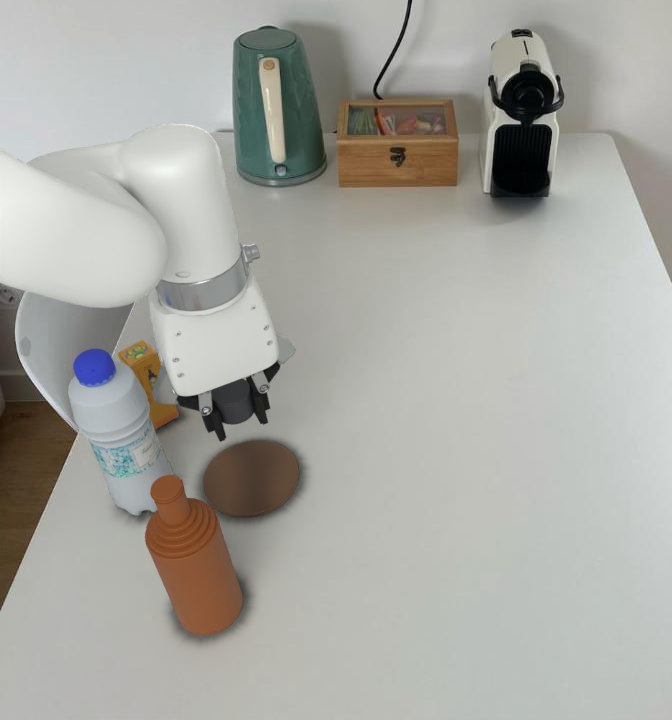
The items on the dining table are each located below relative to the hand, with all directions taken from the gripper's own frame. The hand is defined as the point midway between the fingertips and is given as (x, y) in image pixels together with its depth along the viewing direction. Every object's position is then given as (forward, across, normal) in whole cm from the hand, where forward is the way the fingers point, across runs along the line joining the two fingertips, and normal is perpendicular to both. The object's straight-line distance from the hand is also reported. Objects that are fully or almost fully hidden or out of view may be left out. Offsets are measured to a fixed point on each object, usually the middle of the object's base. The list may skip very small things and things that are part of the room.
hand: (239, 422), depth 80 cm
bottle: (+9, +11, -3) cm, 14 cm away
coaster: (+9, 0, 0) cm, 9 cm away
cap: (-1, 0, 0) cm, 1 cm away
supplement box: (+9, +6, -14) cm, 18 cm away
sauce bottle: (+9, +9, +12) cm, 17 cm away
